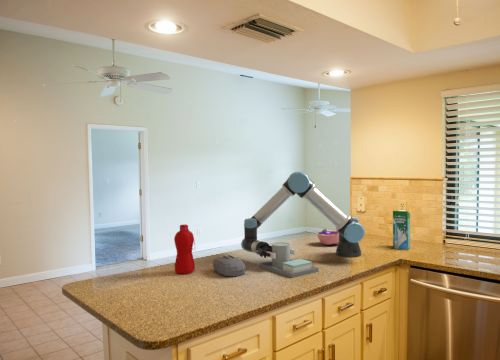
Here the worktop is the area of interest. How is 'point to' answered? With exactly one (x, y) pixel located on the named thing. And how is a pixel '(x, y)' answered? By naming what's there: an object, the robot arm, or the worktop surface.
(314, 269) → the tote tray
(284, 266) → the teal sponge
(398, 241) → the milk carton
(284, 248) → the speckled grey can
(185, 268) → the water bottle
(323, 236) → the cell model
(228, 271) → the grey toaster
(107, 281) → the worktop surface
